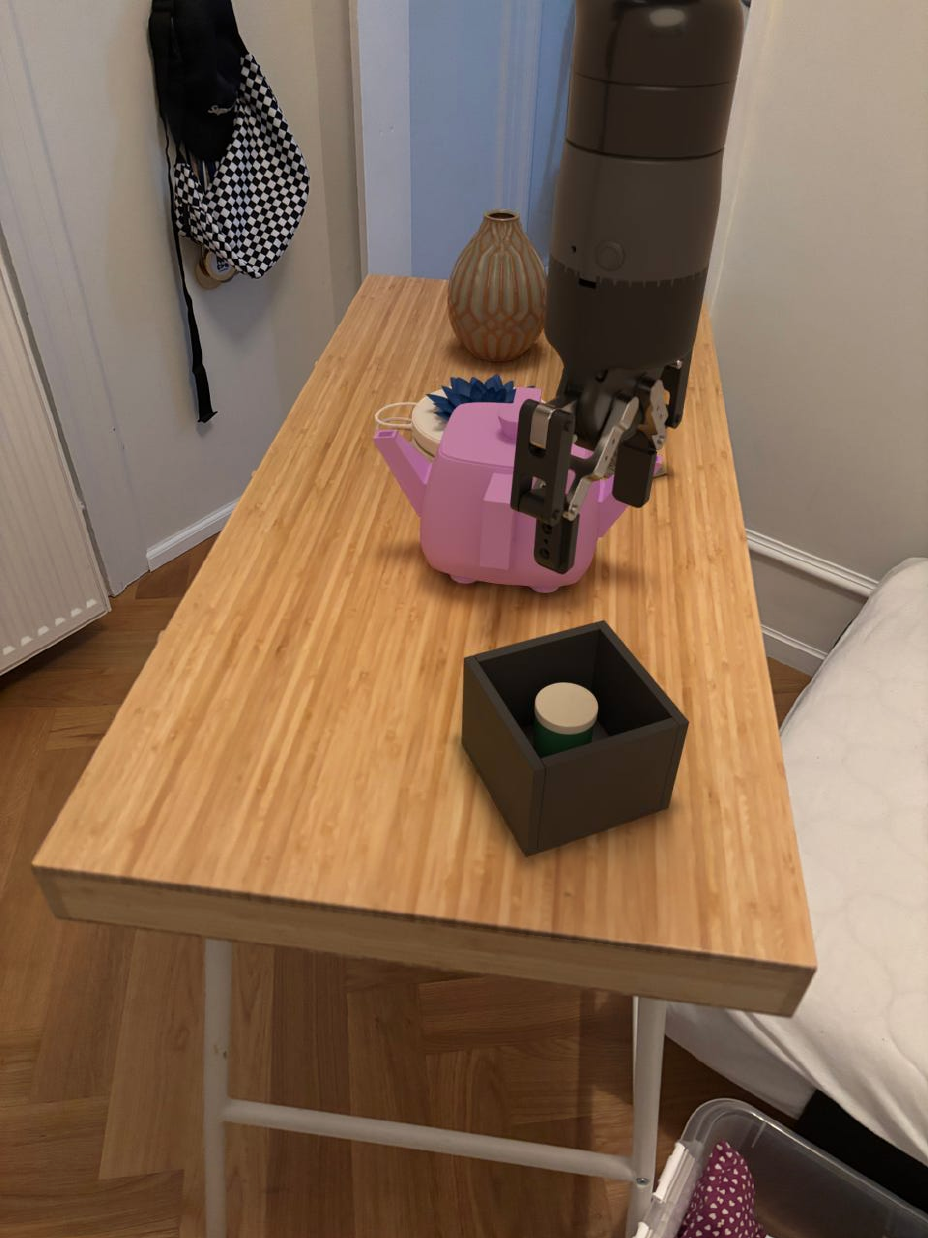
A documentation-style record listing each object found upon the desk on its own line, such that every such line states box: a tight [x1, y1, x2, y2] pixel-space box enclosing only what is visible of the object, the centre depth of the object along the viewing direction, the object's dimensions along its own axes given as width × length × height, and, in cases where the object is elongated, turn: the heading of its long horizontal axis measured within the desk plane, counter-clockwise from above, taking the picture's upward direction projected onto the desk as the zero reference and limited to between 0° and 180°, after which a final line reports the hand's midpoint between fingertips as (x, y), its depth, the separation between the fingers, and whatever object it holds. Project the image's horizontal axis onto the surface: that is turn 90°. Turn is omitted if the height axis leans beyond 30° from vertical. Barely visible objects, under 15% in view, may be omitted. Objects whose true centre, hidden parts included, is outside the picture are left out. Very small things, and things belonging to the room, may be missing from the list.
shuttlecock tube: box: [532, 683, 598, 760], centre depth 65 cm, size 4×4×7 cm
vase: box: [446, 208, 548, 363], centre depth 119 cm, size 13×13×18 cm
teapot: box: [372, 386, 663, 594], centre depth 84 cm, size 19×18×15 cm
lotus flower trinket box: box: [374, 373, 547, 464], centre depth 102 cm, size 7×16×20 cm
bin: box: [460, 619, 690, 858], centre depth 65 cm, size 11×11×9 cm
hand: (592, 532), depth 54 cm, fingers open, 8 cm apart
